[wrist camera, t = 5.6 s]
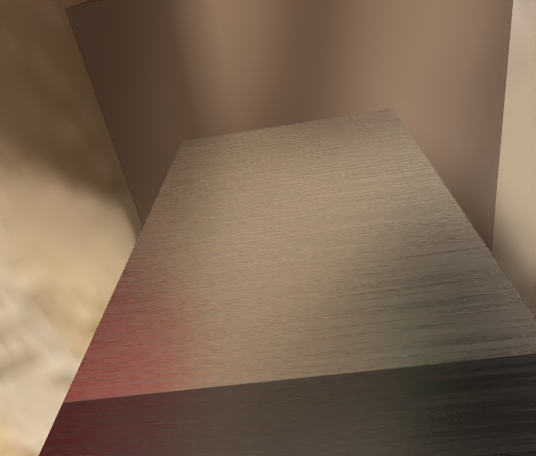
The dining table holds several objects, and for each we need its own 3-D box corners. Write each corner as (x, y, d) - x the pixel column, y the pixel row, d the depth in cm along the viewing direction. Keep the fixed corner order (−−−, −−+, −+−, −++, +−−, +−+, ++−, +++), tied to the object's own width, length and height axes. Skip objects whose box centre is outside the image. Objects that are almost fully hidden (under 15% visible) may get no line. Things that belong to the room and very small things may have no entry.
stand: (496, -77, 13) (519, -80, 12) (470, 308, 20) (484, 333, 19) (84, 2, 14) (65, 8, 13) (197, 339, 21) (192, 364, 20)
